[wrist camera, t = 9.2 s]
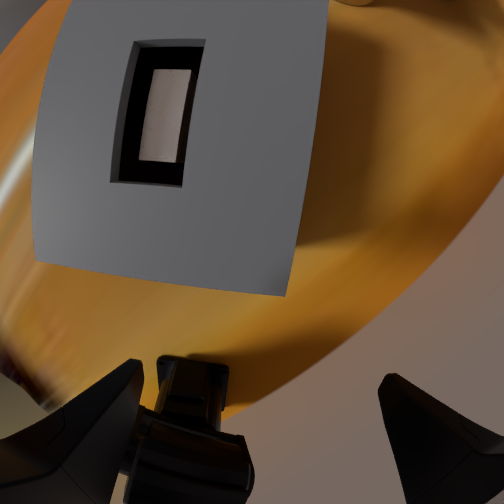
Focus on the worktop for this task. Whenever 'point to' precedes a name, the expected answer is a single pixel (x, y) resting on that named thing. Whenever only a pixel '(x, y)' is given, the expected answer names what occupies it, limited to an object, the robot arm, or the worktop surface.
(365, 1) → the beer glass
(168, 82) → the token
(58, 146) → the coin box
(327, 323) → the worktop surface
